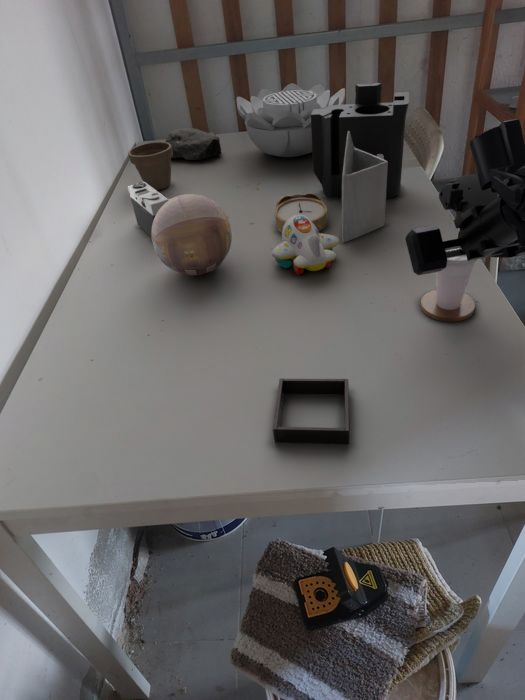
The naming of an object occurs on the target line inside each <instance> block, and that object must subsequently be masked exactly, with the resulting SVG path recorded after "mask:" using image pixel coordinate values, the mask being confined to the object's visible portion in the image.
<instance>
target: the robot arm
mask: <svg viewBox="0 0 525 700" xmlns="http://www.w3.org/2000/svg"><path fill="white" fill-rule="evenodd" d="M468 144H469V148H470V152H471V155H472V159H473V162H474V167H475V170H476V173H472V174H466V175H461V176H457V177H456V178H455V179H452V180H448V183H447V184H444V185H443V186H442V188H441V189H440V191H439V194H438V199H439V201H440V203H441V206H442V207H443V210H445V211H448V210H449V211H451V210H452V211H454V212H455V213H456V215H457V217H456V218H455V219H453V224H454V227H455V229H458V230H459V231H458V233H457V238H454V239H449V240H443V236H442V233H441V229H440V227H439V226H437V225H436V224H433V225H428V226H422V227H421V226H420V227H417V228H412V229H411V230H410V231H409V232H408V233H407V234H406V236H405V237H404V238H405V239H404V240H405V244H406V247H407V251H408V255H409V260H410V265H411V268H412V271H413V273H414V274H415V275H417V276H423V275H428V274H433V273H436V272H439V271H441V270H443V269H445V268H446V265H447V259H448V258H453V257H458V256H463V255H466V256H467V260H468V261H471V260H476V259H477V260H481V259H486V258H501V259H506V258H507V259H510V258H511V259H512V258H515V257H520V256H524V255H525V140H524V136H523V127H522V124H521V119H519V118H514V119H508V120H503V121H502V122H500V124H499V125H497V126H495V127H492V128H489V129H488V130H485V131H483V132H481V133H480V134H478V135H475V136H474V137H473V138H471V140H470V141H469V143H468ZM457 248H461V249H459V250H458V249H457ZM452 249H456V250H452ZM447 250H449V251H448V252H447ZM450 250H451V252H450ZM445 251H446V252H445Z"/></svg>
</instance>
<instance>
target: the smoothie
mask: <svg viewBox="0 0 525 700" xmlns="http://www.w3.org/2000/svg"><path fill="white" fill-rule="evenodd" d="M457 249H458V250H459V249H461V248H457ZM452 250H456V249H452ZM448 251H449V250H447V252H448ZM445 252H446V251H445ZM450 252H451V250H450ZM477 261H478V259H476V260H471V261H468V260H467V256H466V255H463V256H458V257H453V258H448V259H447V265H446V268H445V269H443V270H441V271H439V272H435V286H436V287H435V290H436V299H437V305H438V306H439V307H440V308H443V309H446V310H453V309H457V308H458V307H460V304H461V301H462V298H463V295H464V293H465V292H466V290H467V286H468V283H469V280H470V277H471V274H472V271H473V268H474V265H475V263H476V262H477Z"/></svg>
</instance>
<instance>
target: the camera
mask: <svg viewBox="0 0 525 700" xmlns="http://www.w3.org/2000/svg"><path fill="white" fill-rule="evenodd" d="M127 190H128V193H129V196H130V197H129V198H130V201H131V204H132V208H133V212H134V215H135V220H136V224H137V226H138V227H139V228H140V229H141V230H143V231H144V233H146V235H148V236H149V237H150V239H152V232H151V231H152V225H153V221H154V218H155V216H156V214H157V212H158V211H159V209H160V208H161V207H162V206H163V205H164V204H165V203H166V202H167V201H169V200H170V199H171V198H167V197H166V196H164V195H163V194H162V193H160V192H159V190H155V189H154V188H152V187H151V186H150V185H148V184H147V183H146V182H143V181H140V182H136V183H134V184H131V185H128V186H127Z"/></svg>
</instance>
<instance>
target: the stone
mask: <svg viewBox="0 0 525 700" xmlns="http://www.w3.org/2000/svg"><path fill="white" fill-rule="evenodd" d="M220 141H221V140H220V137H219V136H218V135H217V134H216V133H215V132H207V131H203V130H201V129H198V128H192V127H185V128H177V129H174V130H172V131H170V132H169V133H168V134H167V137H166V138H165V142H167V143H169V144H171V146H172V151H173V156H172V157H171V160H173V159H184V160H187V161H202V160H205V159H209V158H211V157H215V156H216V157H217V156H221V155H222V147H221V145H222V144H221V143H220Z"/></svg>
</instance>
